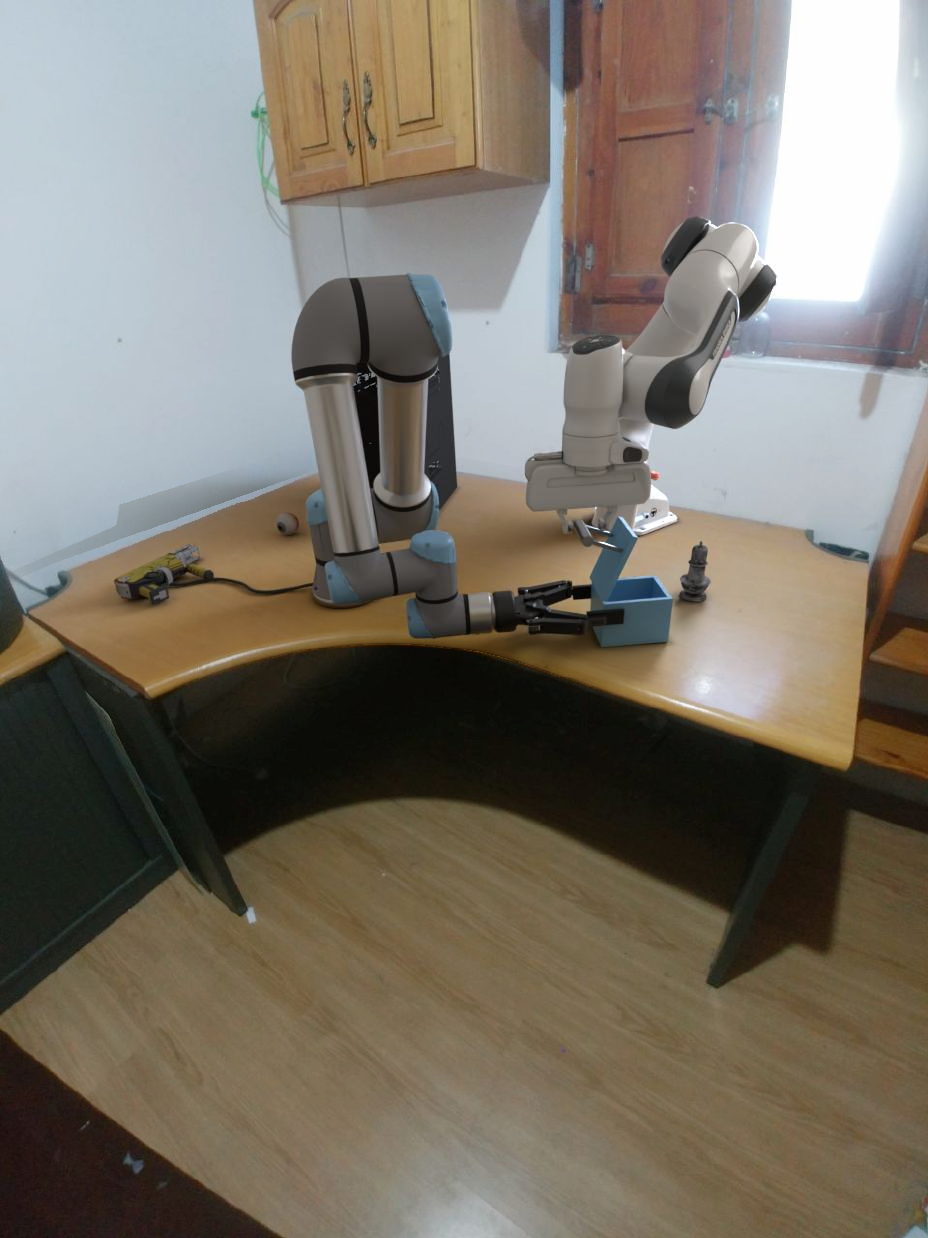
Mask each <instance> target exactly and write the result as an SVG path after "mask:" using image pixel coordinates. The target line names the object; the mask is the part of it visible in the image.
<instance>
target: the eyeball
mask: <svg viewBox="0 0 928 1238" xmlns="http://www.w3.org/2000/svg"><path fill="white" fill-rule="evenodd" d="M299 525H300V522H299V519H298V517H297V516H296V515H295V514H294V513H292V512H287V511H286V512H282V513H280V514H279V515H278V516H277V517H276V520H275V527H276V529H277V530H278V531H279V532H280V533H281V534H282V535H285V536H286V535H287V536H289V535H293V534H295V533H296V532H297V531H298V529H299Z"/></svg>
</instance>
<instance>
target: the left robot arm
mask: <svg viewBox="0 0 928 1238" xmlns="http://www.w3.org/2000/svg"><path fill="white" fill-rule="evenodd" d="M452 329H453V328H452V323H451V317H450V312H449V306H448V303H447V299H446V295H445V292H444V290H443V287H442V285H441V283H440V282H439V280H438V279H437V277H436V276H433V275H431V274H429V273H424V274H423V273H421V274H420V273H419V274H418V273H415V274H414V273H413V274H412V273H410V272H407V273H406V274H394V275H392V274H391V275H377V276H361V277H337V278H334V279H331V280H328V281H326V282H325V283H323V284H322V285H321V286H319V287H318V288H317V289H316V290H315V291H314V292H313V293H312V294H311V295H310V296H309V298H308V299H307V301H306V302H305V303H304V305H303V307H302V308H301V311H300V312H299V315H298V317H297V320H296V323H295V327H294V330H293V336H292V342H291V353H290V354H291V357H290V359H291V367H292V368H291V369H292V375H293V378H294V384H295V386H297V387H298V388H299V389H301V390H302V391H303V396H304V401H305V406H306V411H307V417H308V422H309V427H310V433H311V438H312V444H313V449H314V454H315V459H316V465H317V471H318V477H319V481H320V486H321V488H320V489H317V490H316V491H314V492H313V493H311V494H310V495H309V496H308V497H307V499H306V501H305V511H306V523H307V524H308V527H309V533H310V538H311V544H312V549H313V550H312V551H313V555H314V560H315V567H314V568H315V569H314V576H313V582H309V583H304V584H300V585H296V586H290V587H285V588H278V589H267V590H265V589H264V590H263V589H255V588H253V587H251V586H249V585H248V584H247V583H245V582H243V581H240V580H236V579H232V578H227V577H214V578H210V579H209V580H205V579H204V578H199V579H193V580H190V581H182V582H173V583H170V584H169V585H168V586H167V587H169V586H170V587H185V586H191V585H195V584H199V583H206V582H226V583H232V584H234V585H235V584H236V585H239V586H241V587H244V588H245V589H246V590H247V591H250V592H252V593H254V594H258V595H259V594H261V595H271V594H281V593H285V592H291V591H296V590H301V589H305V588H309V587H312V588H311V590H312V595H313V600H314V601H315V603H317V604H318V605H320V606H322V607H326V608H330V609H331V608H332V609H347V608H356V607H359V606H364V605H366V604H368V603H370V602H372V601H376V600H380V599H386V598H391V597H396V596H403V595H407V594H413V593H415V596H414V597H410V598H407V600H406V602H405V611H406V623H407V625H406V626H407V631H408V634H409V636H410V637H411V638H412V639H414V640H415V639H416V640H417V639H419V640H421V639H422V640H423V639H432V640H435V639H439V638H448V637H449V638H450V637H460V636H470V635H476V636H479V635H485V634H487V635H488V634H492V633H493V631H494V632H496V633H497V634H501V633H502V634H503V633H513V632H515V631H516V630H517V627H518V626H527V629H528V631H527V632H528V635H530V636H534V635H540V634H542V635H543V634H545V635H563V636H564V635H565V636H586V635H587V633H588V628H593V627H594V626H604V625H616V624H623V623H624V612H625V610H624V609H610V610H598V611H590V610H586V613H580V612H579V613H578V612H573V611H566V610H560V609H553V608H551V607H550V606H553V605H555V604H558V603H561V602H563V601H566V600H568V599H569V600H570V599H571V598H572V600H573V601H579V600H580V601H582V600H591V583H588V584H577V585H576V584H575V585H573V581H572V580H569V579H568V580H566V579H561V580H557V581H552V582H547V583H542V584H536V585H532V586H519V587H518V588H517V595H516V596H515V594H514V592H513V591H512V590H510V589H508V590H498V591H493V592H492V594H490V592H488V591H483V592H471V593H459V586H458V583H459V582H458V563H457V562H458V558H457V552H456V546H455V540H454V537H453V536H452V535H451V534H450V533H448V532H447V531H444V530H438V529H437V528H438V524H439V519H440V511H439V508H438V506H439V499H438V494H437V490H436V487H435V485H434V484H433V483H432V482H431V481H429V479H428V477H427V476H426V475H425V474H424V463H425V440H426V417H427V394H428V379H430V378H431V377H432V376H435V375H434V374H435V373H436V371H437V368H438V357H439V356H441V357H444V356H446V355H448V354H450V353H451V351H452V348H453V332H452V331H453V330H452ZM356 363H368V367H369V369H370V371H371V372H372V373H373V374H374V375H375V376H377V381H378V411H379V440H380V470H381V472H380V473H379V474H378V475H377V477H376V478H375V480H374V488H371V489H370V487H369V480H368V474H367V468H366V462H365V456H364V450H363V444H362V437H361V431H360V425H359V419H358V413H357V407H356V401H355V394H354V388H353V385H354V383H355V382H356V380H357V379H358V380H359V377H358V375H359V373H358V372H357V364H356ZM374 375H373V376H374ZM358 380H357V381H358ZM408 540H410V541H409V547H408V548H404V549H398V550H391V551H385V552H381V549H380V545H383V544H389V543H395V542H402V541H408Z"/></svg>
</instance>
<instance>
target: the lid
mask: <svg viewBox="0 0 928 1238" xmlns="http://www.w3.org/2000/svg"><path fill="white" fill-rule="evenodd" d="M572 523H573V530H574V531H575V533H576V535H577V537H578V538H579V541H580V543H581V544H582V546H584V547H585V548H590V547H592V546H596V547H598V548H602V549H601V551H600V553H599V556H598V558H597V560H596V562H595V565H594V566H593V568H592V571H591V572H590V575H589V579H590V582H591V583H593V585H594V587H595V589H596V591H597V593H598V595H599V597H600V599H601V601H604V602H607V600H608V598H609V596H610V594H611V592H612V590H613V588H614V586H615V584H616V582H617V580H618V578H620V576H621V574H622V573H623V571H624V568H625V566H626V563H627V562H628V560H629V558H630V557H631V553H632V552H633V549H634V548H635V545H636V544H637V542H638V539H639V537H638V535H636V534H635V533H634V532H633V530H632V529H631V528H630V526H629V525H628V524H627V522H626V521H625V520H624V519H623V518H622V517H619V516H618V517H617V519H616V521H615V524H614V526H613V528H612V530H611V532H608V531H599V529H598V528H595V527H594V526H591V525H587V524H586V523H585V522H584V520H583V519H581V518H577V519H575V520H574V521H572ZM591 532H592V533H595V534H598V535H601V536H605V537H607V538H606V540H605V542H603V541H601V540H597V539H595V538H594V537H593V534H592V533H591Z"/></svg>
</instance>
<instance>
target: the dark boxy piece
mask: <svg viewBox="0 0 928 1238" xmlns="http://www.w3.org/2000/svg"><path fill="white" fill-rule="evenodd" d="M450 355H451V354H450V353H449V354H448V355H446V356H444V357H441V356H439V357H438V368H437V371H436V373H435V374H434V375H433V376H432V377H431V378H430V379H428V394H427V417H426V440H425V463H424V474H425V475H426V476H427V477H428V479H429V481H431V482H432V483H433V484H434V485H435V487H436V490H437V494H438V499H439V506H438V508H439V512H440V511H441V510H442V508H443V507H444V505H445V504H446V503H447V501H448V500H449V499H450V498H451V496H452V495H453V493H454V492H455V491H456V489H457V488H458V478H457V477H458V475H457V459H456V441H455V424H454V407H453V391H452V390H453V389H452V388H453V387H452V375H451V373H452V372H451V358H450V357H451V356H450ZM356 364H357V372H358V379H357V380H356V382H355V383H354V385H353V388H354V394H355V401H356V407H357V413H358V419H359V425H360V431H361V437H362V444H363V450H364V456H365V462H366V468H367V474H368V480H369V487H370V489H371V488H374V480H375V478H376V477H377V475H378V474H379V473H380V472H381V470H380V440H379V411H378V381H377V376H375V375H374V374H373V373H372V372H371V371H370V369H369V367H368V363H356Z"/></svg>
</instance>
